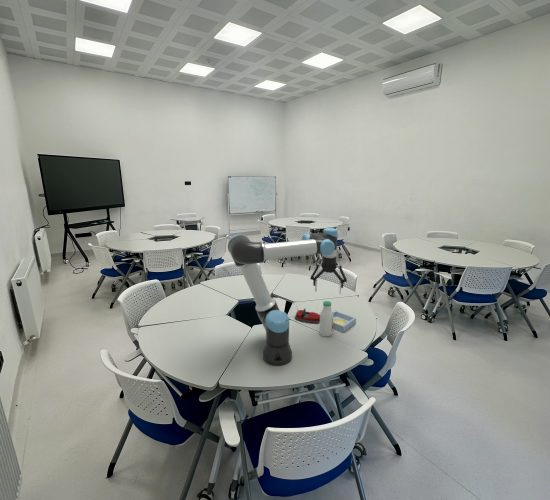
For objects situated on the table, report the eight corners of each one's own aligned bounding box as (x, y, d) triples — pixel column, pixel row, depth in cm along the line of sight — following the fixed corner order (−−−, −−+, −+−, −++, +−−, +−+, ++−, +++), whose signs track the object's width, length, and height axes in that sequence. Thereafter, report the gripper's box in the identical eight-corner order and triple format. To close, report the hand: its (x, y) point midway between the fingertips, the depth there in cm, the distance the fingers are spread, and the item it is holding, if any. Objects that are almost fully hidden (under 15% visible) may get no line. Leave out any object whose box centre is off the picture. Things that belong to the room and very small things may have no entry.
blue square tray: (343, 332, 169) (343, 326, 168) (322, 324, 179) (322, 318, 178) (355, 323, 179) (356, 317, 178) (335, 315, 189) (335, 310, 188)
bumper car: (319, 326, 177) (320, 311, 175) (289, 320, 184) (289, 305, 182) (323, 318, 186) (323, 304, 183) (294, 313, 193) (294, 299, 191)
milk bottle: (329, 338, 163) (331, 306, 158) (317, 334, 167) (318, 303, 162) (334, 332, 170) (336, 301, 164) (322, 328, 173) (323, 298, 168)
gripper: (352, 255, 157) (350, 291, 163) (307, 253, 163) (306, 287, 168) (353, 259, 150) (350, 296, 156) (306, 256, 156) (305, 292, 161)
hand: (327, 292), depth 162 cm, fingers open, 13 cm apart
